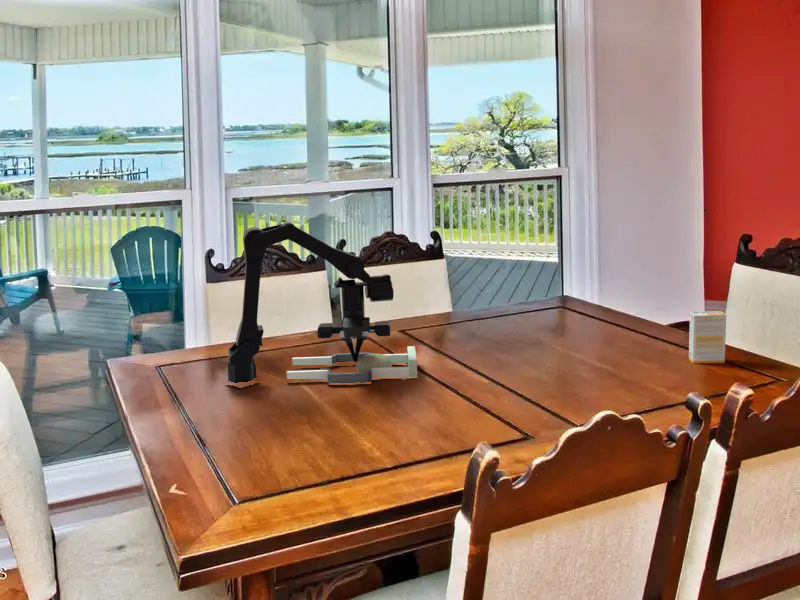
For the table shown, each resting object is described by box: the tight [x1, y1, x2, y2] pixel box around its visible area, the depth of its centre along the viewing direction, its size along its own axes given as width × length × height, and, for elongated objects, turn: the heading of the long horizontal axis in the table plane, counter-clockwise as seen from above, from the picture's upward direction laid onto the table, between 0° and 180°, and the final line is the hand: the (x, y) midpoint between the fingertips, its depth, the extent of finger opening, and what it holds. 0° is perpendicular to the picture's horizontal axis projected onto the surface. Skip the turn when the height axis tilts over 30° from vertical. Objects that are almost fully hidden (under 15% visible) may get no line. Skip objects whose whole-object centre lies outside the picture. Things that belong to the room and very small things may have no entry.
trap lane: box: [286, 351, 409, 384], centre depth 217 cm, size 31×20×3 cm, turn 91°
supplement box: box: [688, 310, 727, 364], centre depth 217 cm, size 8×5×13 cm, turn 84°
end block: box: [406, 345, 418, 378], centre depth 217 cm, size 2×14×5 cm, turn 1°
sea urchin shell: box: [355, 353, 393, 372], centre depth 217 cm, size 9×8×8 cm
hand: (355, 361), depth 217 cm, fingers closed
